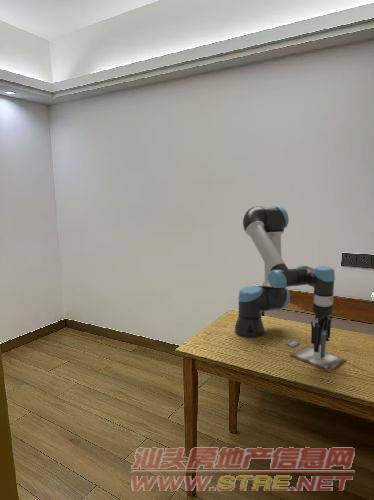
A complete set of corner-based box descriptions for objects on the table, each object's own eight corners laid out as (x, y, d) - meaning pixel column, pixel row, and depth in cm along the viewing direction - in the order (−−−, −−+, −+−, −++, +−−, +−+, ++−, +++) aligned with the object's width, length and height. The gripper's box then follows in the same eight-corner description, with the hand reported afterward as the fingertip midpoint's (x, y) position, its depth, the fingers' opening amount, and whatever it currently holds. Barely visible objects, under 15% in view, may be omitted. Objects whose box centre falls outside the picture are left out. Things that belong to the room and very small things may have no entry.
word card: (285, 344, 158) (285, 343, 158) (292, 340, 162) (292, 339, 162) (292, 347, 155) (292, 346, 155) (299, 343, 159) (300, 342, 159)
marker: (312, 357, 143) (314, 330, 141) (317, 354, 145) (319, 327, 143) (321, 360, 140) (323, 333, 138) (326, 357, 142) (328, 330, 140)
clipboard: (290, 356, 147) (290, 352, 147) (307, 346, 156) (307, 343, 155) (329, 372, 133) (330, 368, 133) (346, 361, 142) (346, 357, 142)
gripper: (320, 311, 130) (317, 366, 134) (341, 301, 141) (337, 353, 145) (303, 306, 136) (300, 359, 140) (324, 297, 147) (321, 347, 150)
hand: (319, 356), depth 142 cm, fingers closed on marker, 4 cm apart
